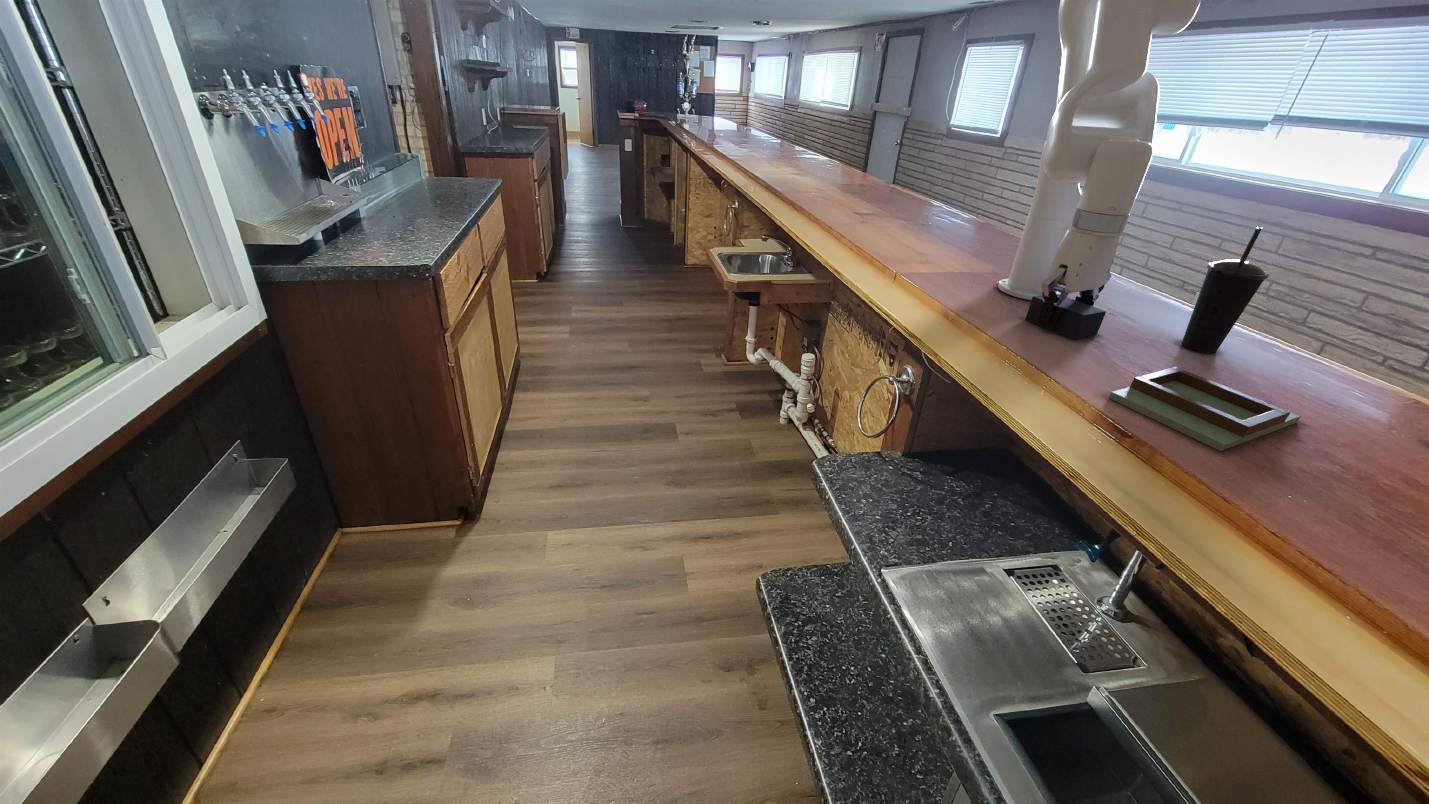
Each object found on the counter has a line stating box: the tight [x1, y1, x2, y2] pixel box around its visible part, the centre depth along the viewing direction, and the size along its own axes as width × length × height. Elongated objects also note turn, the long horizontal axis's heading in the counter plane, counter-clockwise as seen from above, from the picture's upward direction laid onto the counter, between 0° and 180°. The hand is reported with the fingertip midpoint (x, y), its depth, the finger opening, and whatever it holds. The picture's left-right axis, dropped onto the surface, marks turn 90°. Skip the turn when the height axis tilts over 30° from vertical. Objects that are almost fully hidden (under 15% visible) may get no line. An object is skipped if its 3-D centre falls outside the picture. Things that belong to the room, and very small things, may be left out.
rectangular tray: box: [1108, 366, 1302, 452], centre depth 76 cm, size 18×14×2 cm
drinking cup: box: [1180, 227, 1270, 355], centre depth 91 cm, size 8×8×20 cm
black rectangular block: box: [1024, 294, 1107, 340], centre depth 101 cm, size 10×6×4 cm, turn 25°
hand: (1062, 322), depth 101 cm, fingers open, 7 cm apart
